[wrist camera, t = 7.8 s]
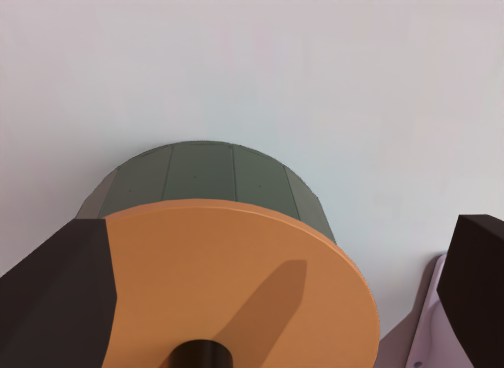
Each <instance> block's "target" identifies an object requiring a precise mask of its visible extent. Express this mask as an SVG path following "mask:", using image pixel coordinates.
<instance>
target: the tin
mask: <svg viewBox="0 0 504 368" xmlns="http://www.w3.org/2000/svg"><path fill="white" fill-rule="evenodd" d="M181 199H216V200H228V201H234V202H241V203H247V204H253V205H256V206H260V207H263V208H267V209H270V210H274V211H277V212H280V213H282V214H285V215H287V216H289V217H292V218H294V219H296V220H299V221H301V222H303V223H305V224H306V225H308V226H310V227H312V228H313V229H315V230H317V231H318V232H320V233H322V234H323V235H325V236H326V237H327V238H328V239H330V240H331V241H332V242H333V243H335V244H336V241H335V239H334V236H333V234H332V231H331V229H330V226H329V224H328V221H327V219H326V216H325V214H324V211H323V209H322V206H321V204H320V201H319V199H318V197H317V196H316V195H315V194H314V193H312V191H311V190H310V188H309V187H308V186H307V185H306V184H305V183H304V182H303V180H302V179H301V178H300V177H299V176H297V175H296V174H295V173H294V172H293V171H292V170H290V169H289V168H288V167H287V166H285V165H283V164H282V163H280V162H279V161H277V160H275V159H274V158H272V157H270V156H268V155H265V154H263V153H261V152H259V151H256V150H253V149H250V148H247V147H244V146H241V145H236V144H230V143H225V142H215V141H191V142H181V143H175V144H170V145H165V146H162V147H158V148H155V149H152V150H149V151H146V152H144V153H142V154H140V155H138V156H136V157H133V158H131V159H130V160H128V161H127V162H125V163H124V164H122V165H120V166H119V167H117V168H116V169H115V170H114V171H113V172H111V173H110V174H109V175H108V176H107V177H106V178H104V180H103V181H102V182H101V183H100V184H99V185H98V187H97V188H96V189H95V190H94V191H93V193H92V194H91V195H90V196H89V197H88V198H87V199H86V200H85V201H84V203H83V205H82V207H81V209H80V211H79V213H78V215H77V217H76V219H101V218H103V217H106V216H108V215H110V214H113V213H116V212H119V211H122V210H126V209H129V208H132V207H136V206H139V205H144V204H150V203H155V202H161V201H167V200H181ZM336 245H337V244H336Z"/></svg>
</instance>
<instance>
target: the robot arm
mask: <svg viewBox="0 0 504 368" xmlns="http://www.w3.org/2000/svg"><path fill="white" fill-rule="evenodd" d="M116 303H117V291H116V285H115V278H114V272H113V265H112V258H111V252H110V245H109V239H108V232H107V226H106V219H73V220H71V221H70V222H69V223H67V224H66V225H65V226H63V227H62V228H61V229H60V230H58V231H57V232H56V233H55V234H54V235H52V236H51V237H50V238H49V239H47V240H46V241H45V242H44V243H43V244H41V245H40V246H39V247H38V248H37V249H35V250H34V251H33V252H32V253H31V254H29V255H28V256H27V257H26V258H24V259H23V260H22V261H21V262H19V263H18V264H17V265H16V266H14V267H13V268H12V269H11V270H9V271H8V272H7V273H6V274H4V275H3V276H2V277H1V278H0V368H102V365H103V362H104V359H105V356H106V352H107V349H108V346H109V341H110V336H111V331H112V326H113V321H114V315H115V309H116ZM405 368H504V221H502V220H500V219H497V218H495V217H492V216H490V215H487V214H483V215H459V217H458V220H457V223H456V227H455V230H454V233H453V236H452V240H451V243H450V246H449V249H448V253H447V254H444V255H442V256H441V257H440V258H439V259H438V260H437V263H436V266H435V269H434V273H433V276H432V279H431V283H430V286H429V290H428V293H427V296H426V300H425V303H424V306H423V310H422V313H421V316H420V320H419V323H418V327H417V330H416V333H415V337H414V340H413V343H412V347H411V350H410V353H409V357H408V360H407V364H406V367H405Z"/></svg>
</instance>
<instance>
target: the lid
mask: <svg viewBox="0 0 504 368" xmlns="http://www.w3.org/2000/svg"><path fill="white" fill-rule="evenodd" d="M101 219H106V226H107V232H108V239H109V245H110V252H111V258H112V265H113V272H114V278H115V285H116V291H117V303H116V309H115V315H114V321H113V326H112V331H111V336H110V341H109V346H108V349H107V352H106V356H105V359H104V362H103V365H102V368H373V366H374V363H375V360H376V357H377V353H378V346H379V340H380V326H379V317H378V312H377V308H376V303H375V301H374V299H373V296H372V294H371V292H370V289H369V287H368V285H367V283H366V280H365V279H364V277H363V276H362V274H361V272H360V271H359V269H358V268H357V266H356V265H355V263H354V262H353V261H352V260H351V259H350V258H349V257H348V256H347V255H346V254H345V253H344V251H343V250H342V249H341V248H340V247H338V246H337V245H336V244H335V243H333V242H332V241H331V240H330V239H328V238H327V237H326V236H325V235H323V234H322V233H320V232H318V231H317V230H315V229H313V228H312V227H310V226H308V225H306V224H305V223H303V222H301V221H299V220H296V219H294V218H292V217H289V216H287V215H285V214H282V213H280V212H277V211H274V210H270V209H267V208H263V207H260V206H256V205H253V204H247V203H241V202H234V201H228V200H216V199H181V200H167V201H161V202H155V203H150V204H144V205H139V206H136V207H132V208H129V209H126V210H122V211H119V212H116V213H113V214H110V215H108V216H106V217H103V218H101Z"/></svg>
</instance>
